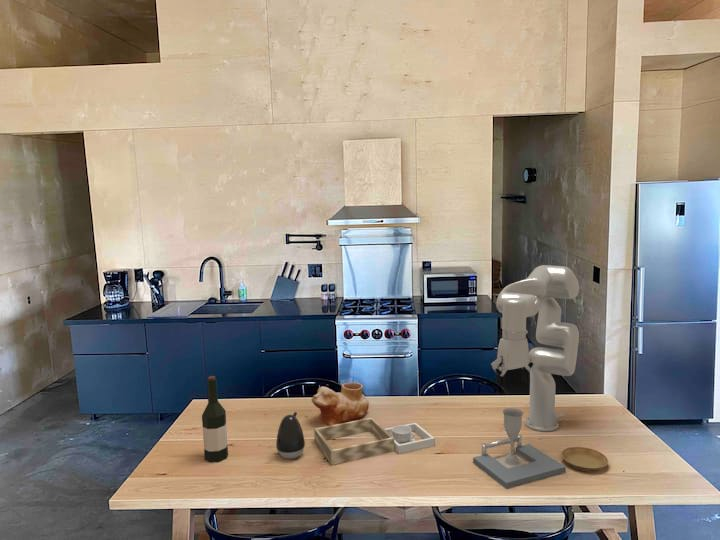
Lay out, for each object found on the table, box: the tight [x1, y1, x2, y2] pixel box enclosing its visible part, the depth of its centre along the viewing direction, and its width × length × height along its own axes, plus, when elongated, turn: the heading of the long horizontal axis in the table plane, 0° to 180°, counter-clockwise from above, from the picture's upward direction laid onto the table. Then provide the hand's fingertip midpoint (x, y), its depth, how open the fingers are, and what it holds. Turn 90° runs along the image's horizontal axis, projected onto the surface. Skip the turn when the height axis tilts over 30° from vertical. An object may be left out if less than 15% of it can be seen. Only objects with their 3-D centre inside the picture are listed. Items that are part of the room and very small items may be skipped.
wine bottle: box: [201, 375, 229, 464], centre depth 188 cm, size 8×8×30 cm
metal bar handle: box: [481, 434, 523, 456], centre depth 186 cm, size 17×2×6 cm, turn 112°
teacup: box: [392, 424, 416, 444], centre depth 200 cm, size 10×10×5 cm
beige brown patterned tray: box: [313, 417, 395, 466], centre depth 196 cm, size 24×20×5 cm
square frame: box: [384, 422, 436, 455], centre depth 199 cm, size 15×15×3 cm
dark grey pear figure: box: [275, 411, 306, 460], centre depth 190 cm, size 10×10×15 cm
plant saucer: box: [561, 446, 609, 473], centre depth 180 cm, size 15×15×3 cm
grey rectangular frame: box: [472, 443, 567, 490], centre depth 178 cm, size 24×18×2 cm
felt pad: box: [494, 455, 528, 468], centre depth 182 cm, size 9×9×1 cm
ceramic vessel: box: [311, 382, 370, 426], centre depth 221 cm, size 14×26×15 cm, turn 123°
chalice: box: [502, 407, 524, 466], centre depth 181 cm, size 7×7×18 cm
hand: (513, 384), depth 178 cm, fingers open, 9 cm apart
